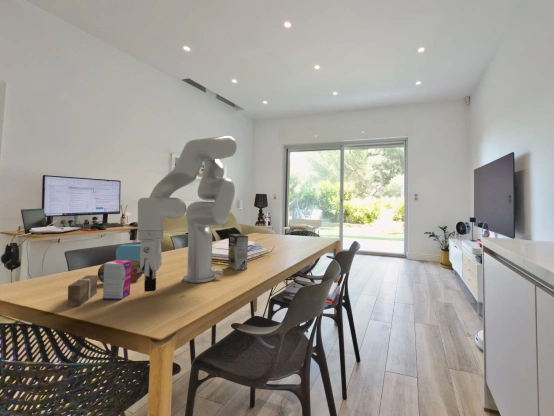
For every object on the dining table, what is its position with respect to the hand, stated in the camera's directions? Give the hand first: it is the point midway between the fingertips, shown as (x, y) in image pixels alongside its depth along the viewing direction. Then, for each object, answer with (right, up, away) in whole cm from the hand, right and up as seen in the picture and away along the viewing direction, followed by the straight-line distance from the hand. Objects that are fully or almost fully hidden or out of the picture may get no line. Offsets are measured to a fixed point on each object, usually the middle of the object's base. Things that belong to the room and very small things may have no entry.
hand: (150, 290), depth 89 cm
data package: (-22, -1, +29) cm, 37 cm away
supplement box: (-10, -2, -2) cm, 10 cm away
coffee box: (+23, -2, +43) cm, 48 cm away
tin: (-18, -2, +15) cm, 23 cm away
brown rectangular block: (-19, -1, -5) cm, 19 cm away
